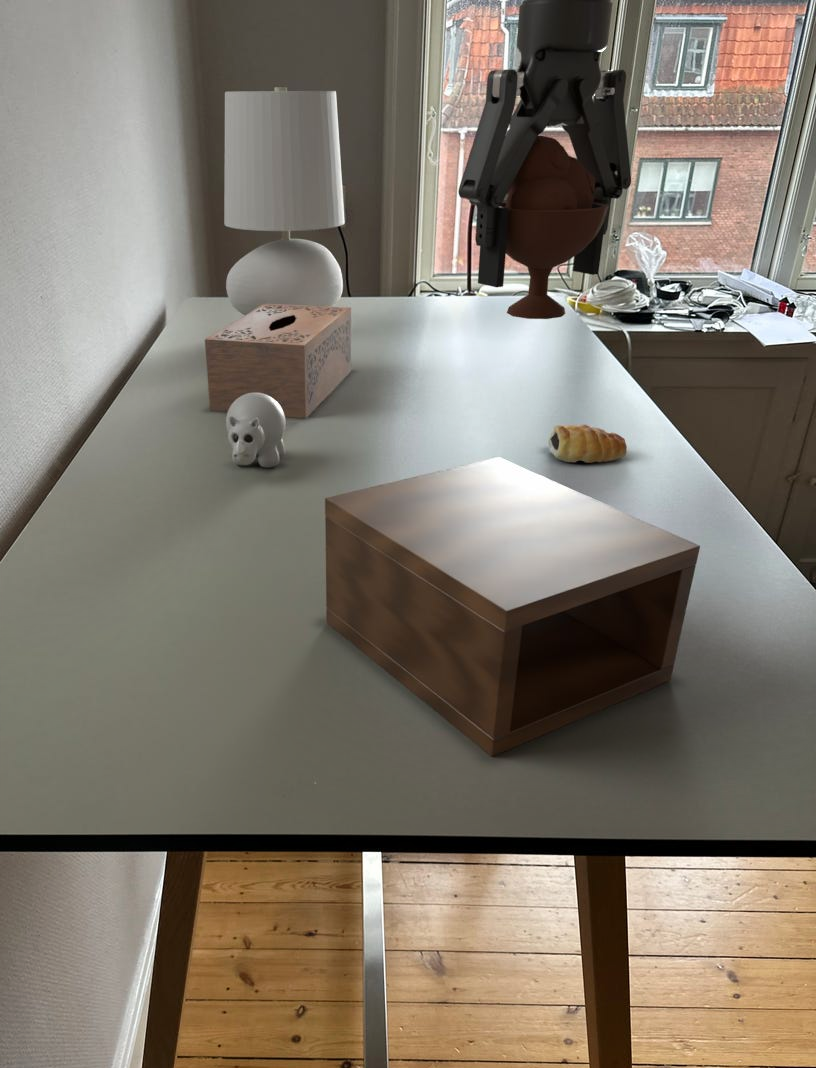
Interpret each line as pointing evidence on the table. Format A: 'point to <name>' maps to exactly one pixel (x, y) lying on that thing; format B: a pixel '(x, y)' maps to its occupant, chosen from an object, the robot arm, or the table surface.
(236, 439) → the chubby cartoon animal
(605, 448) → the pastry
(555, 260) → the ice cream bowl
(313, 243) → the table lamp
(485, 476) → the shelf
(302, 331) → the tissue box cover
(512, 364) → the table surface
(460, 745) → the table surface
